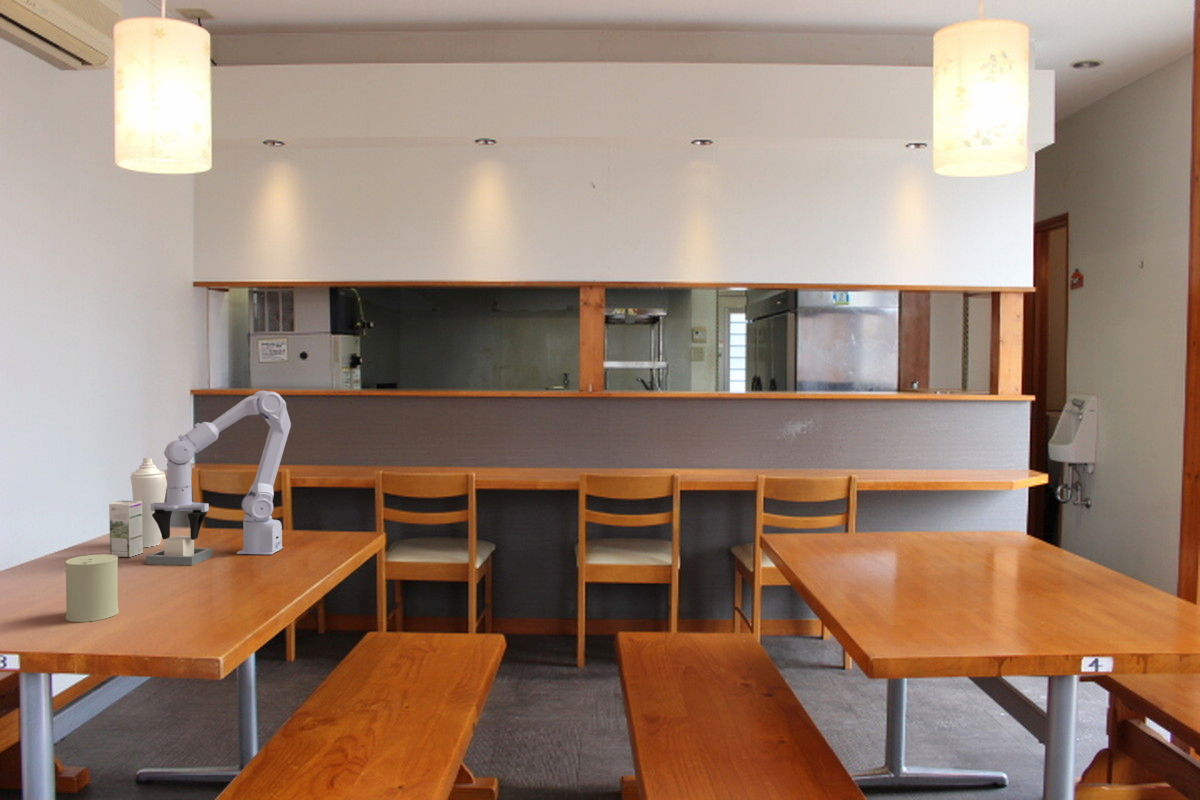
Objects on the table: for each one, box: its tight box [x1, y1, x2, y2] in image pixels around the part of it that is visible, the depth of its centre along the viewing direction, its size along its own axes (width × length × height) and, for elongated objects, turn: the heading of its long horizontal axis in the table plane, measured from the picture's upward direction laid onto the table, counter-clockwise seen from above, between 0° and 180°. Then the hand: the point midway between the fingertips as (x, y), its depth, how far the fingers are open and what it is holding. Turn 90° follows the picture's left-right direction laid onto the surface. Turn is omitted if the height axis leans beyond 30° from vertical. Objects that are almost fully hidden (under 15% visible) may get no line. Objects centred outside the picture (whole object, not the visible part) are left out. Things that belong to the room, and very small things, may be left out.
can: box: [64, 553, 120, 623], centre depth 167 cm, size 9×9×12 cm
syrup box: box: [108, 499, 144, 558], centre depth 219 cm, size 6×6×14 cm
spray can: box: [129, 457, 167, 548], centre depth 231 cm, size 12×11×25 cm
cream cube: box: [163, 535, 195, 556], centre depth 214 cm, size 5×5×5 cm
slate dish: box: [145, 547, 213, 566], centre depth 214 cm, size 12×10×2 cm
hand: (180, 538), depth 214 cm, fingers open, 7 cm apart
